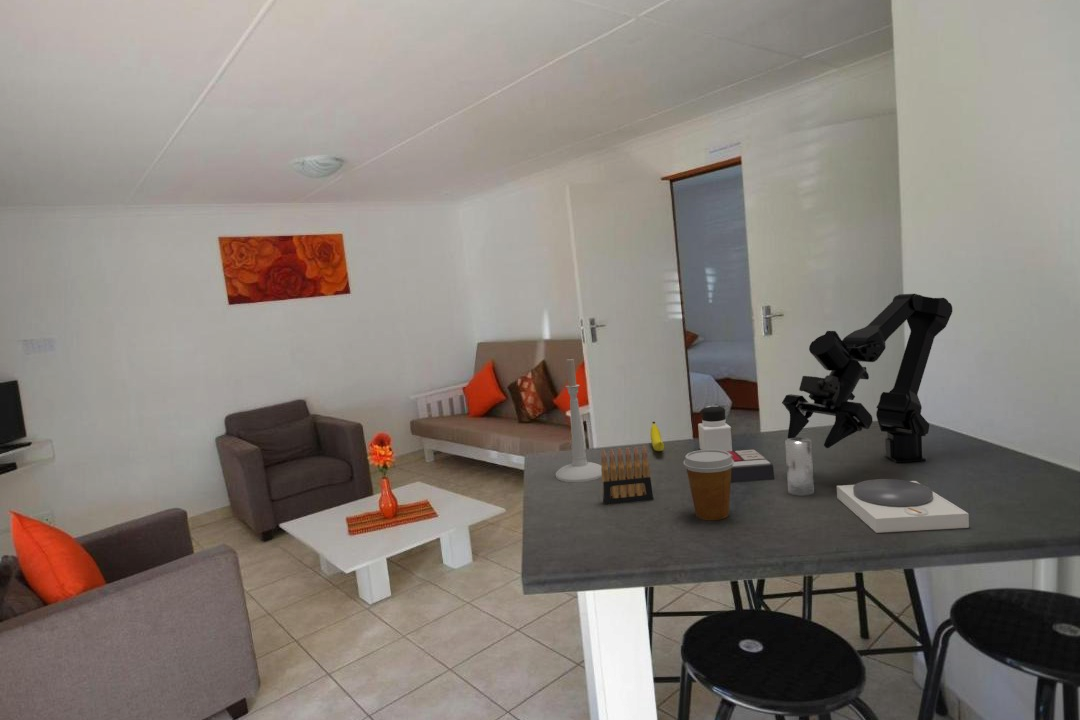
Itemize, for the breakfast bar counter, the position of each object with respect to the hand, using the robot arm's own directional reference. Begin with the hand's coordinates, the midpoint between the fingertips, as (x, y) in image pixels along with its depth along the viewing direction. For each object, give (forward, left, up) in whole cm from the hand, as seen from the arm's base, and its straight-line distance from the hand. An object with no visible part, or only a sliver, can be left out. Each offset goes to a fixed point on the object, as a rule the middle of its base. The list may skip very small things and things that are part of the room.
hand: (806, 443), depth 131 cm
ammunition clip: (+38, 0, -10) cm, 39 cm away
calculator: (+11, -15, -11) cm, 21 cm away
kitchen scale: (-11, +15, -10) cm, 21 cm away
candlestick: (+49, -22, -10) cm, 55 cm away
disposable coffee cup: (+22, +11, -10) cm, 27 cm away
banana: (+28, -39, -10) cm, 49 cm away
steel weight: (+2, +1, -10) cm, 10 cm away
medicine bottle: (+13, -35, -10) cm, 38 cm away
